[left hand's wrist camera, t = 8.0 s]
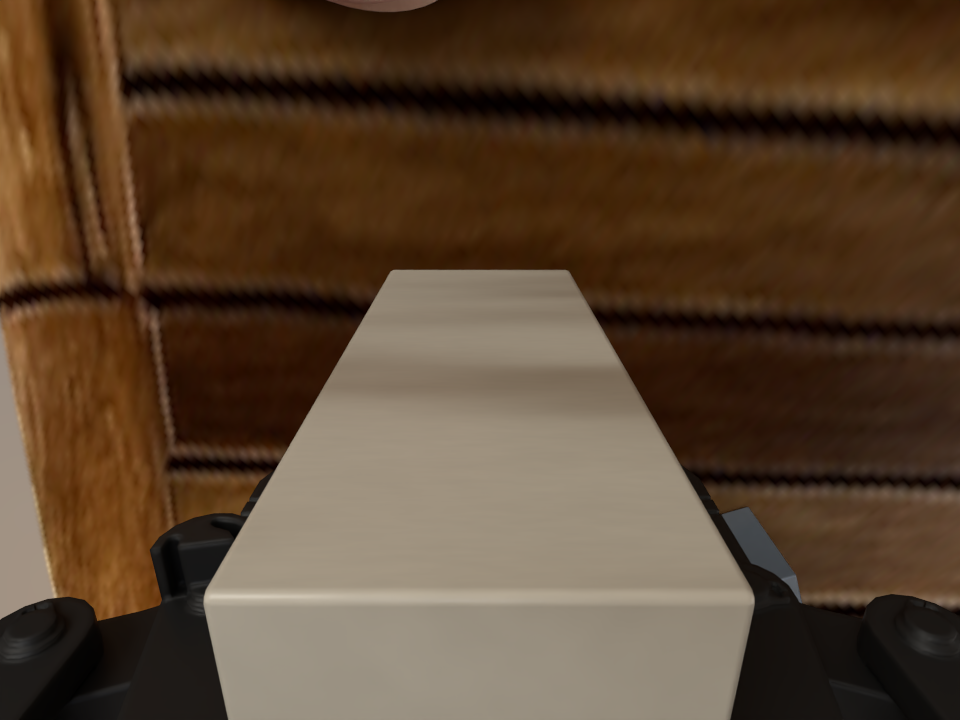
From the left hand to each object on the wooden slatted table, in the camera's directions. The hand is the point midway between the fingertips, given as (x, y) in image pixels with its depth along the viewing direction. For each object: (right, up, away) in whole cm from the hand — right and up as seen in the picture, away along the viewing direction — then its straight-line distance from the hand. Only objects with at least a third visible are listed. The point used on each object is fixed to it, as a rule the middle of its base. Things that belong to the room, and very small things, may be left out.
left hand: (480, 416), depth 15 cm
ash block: (0, -8, +3) cm, 9 cm away
